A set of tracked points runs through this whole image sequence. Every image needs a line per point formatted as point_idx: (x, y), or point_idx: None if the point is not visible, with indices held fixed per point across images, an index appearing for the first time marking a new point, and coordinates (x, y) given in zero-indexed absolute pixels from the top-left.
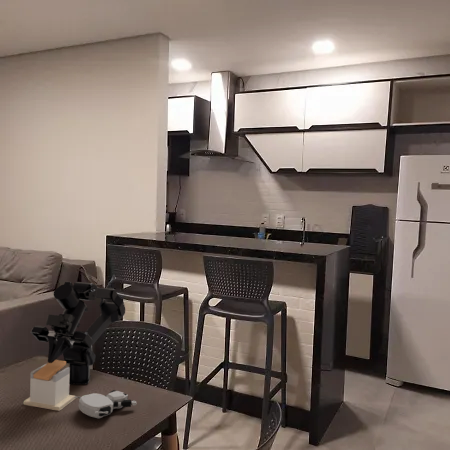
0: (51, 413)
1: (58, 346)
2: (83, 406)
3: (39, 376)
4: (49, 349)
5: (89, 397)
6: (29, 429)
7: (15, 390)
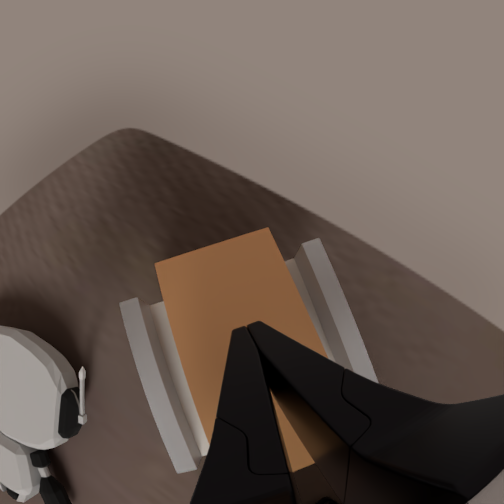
0: (151, 299)
1: (225, 474)
2: (14, 329)
3: (222, 245)
4: (344, 374)
5: (31, 391)
6: (128, 191)
7: (430, 321)
